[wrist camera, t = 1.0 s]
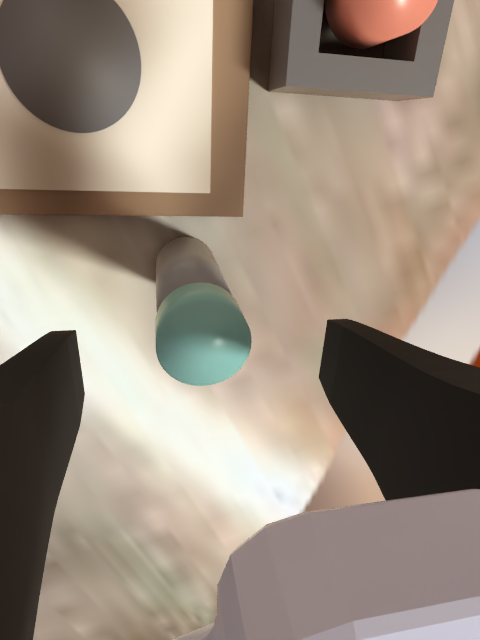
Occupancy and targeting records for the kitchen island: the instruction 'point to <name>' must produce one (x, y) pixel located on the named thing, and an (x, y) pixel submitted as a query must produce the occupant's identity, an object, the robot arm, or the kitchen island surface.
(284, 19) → the button housing
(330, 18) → the button
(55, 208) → the board
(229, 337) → the marker
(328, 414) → the kitchen island surface
